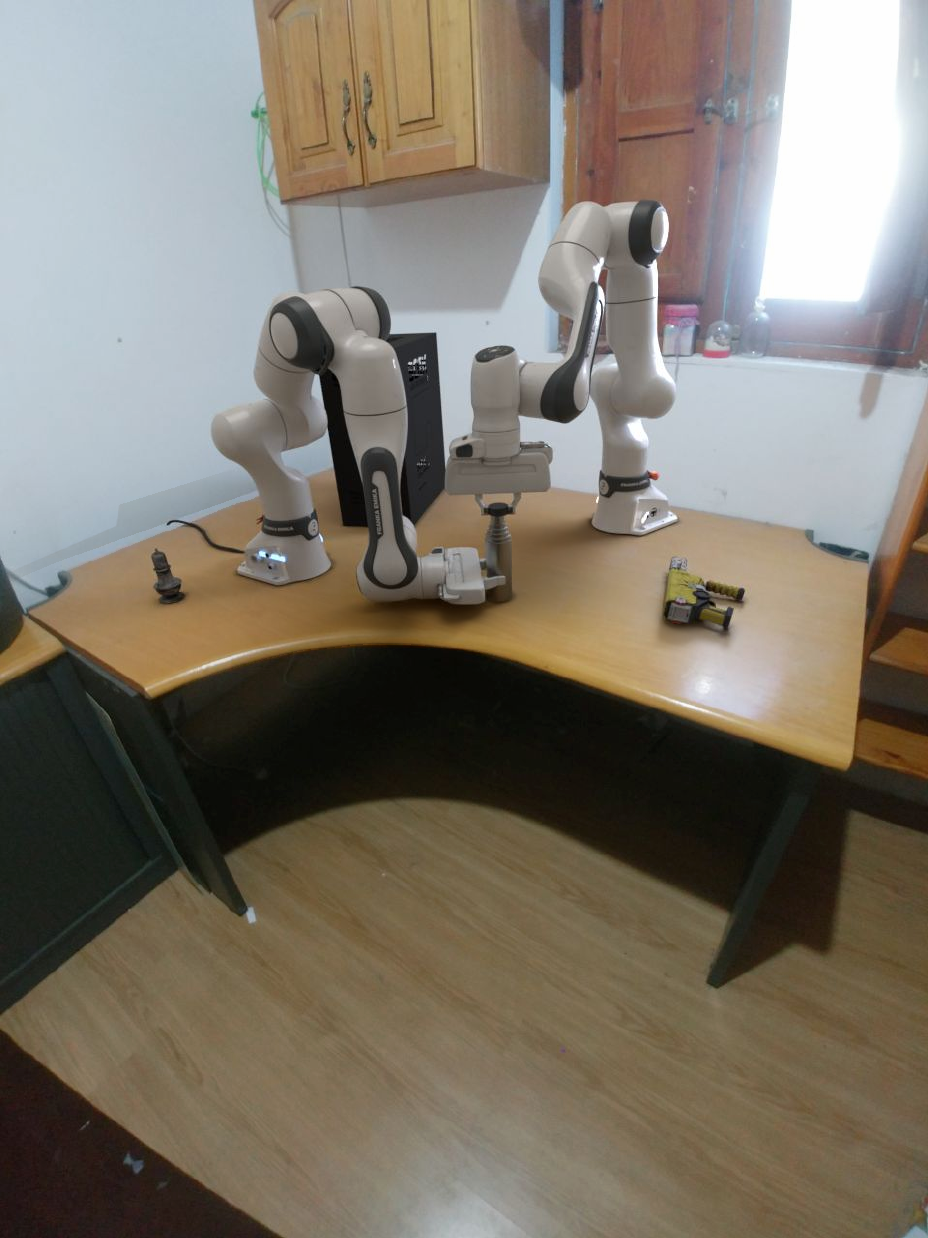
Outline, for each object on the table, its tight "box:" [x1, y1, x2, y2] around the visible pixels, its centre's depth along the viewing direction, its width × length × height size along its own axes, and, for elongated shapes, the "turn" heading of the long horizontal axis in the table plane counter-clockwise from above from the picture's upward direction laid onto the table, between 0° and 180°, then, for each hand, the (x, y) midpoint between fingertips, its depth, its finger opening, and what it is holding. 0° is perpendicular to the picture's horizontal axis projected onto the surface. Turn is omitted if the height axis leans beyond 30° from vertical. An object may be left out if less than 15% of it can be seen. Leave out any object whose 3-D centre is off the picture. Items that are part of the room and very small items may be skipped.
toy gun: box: [662, 556, 746, 632], centre depth 120 cm, size 5×24×15 cm
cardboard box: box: [318, 332, 446, 527], centre depth 171 cm, size 38×20×45 cm, turn 167°
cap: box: [488, 501, 509, 517], centre depth 118 cm, size 4×4×2 cm
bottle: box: [484, 516, 513, 603], centre depth 123 cm, size 5×5×19 cm
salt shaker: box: [150, 547, 185, 604], centre depth 132 cm, size 6×6×12 cm
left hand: (503, 572), depth 125 cm, fingers closed on bottle, 5 cm apart
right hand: (498, 514), depth 118 cm, fingers closed on cap, 4 cm apart
